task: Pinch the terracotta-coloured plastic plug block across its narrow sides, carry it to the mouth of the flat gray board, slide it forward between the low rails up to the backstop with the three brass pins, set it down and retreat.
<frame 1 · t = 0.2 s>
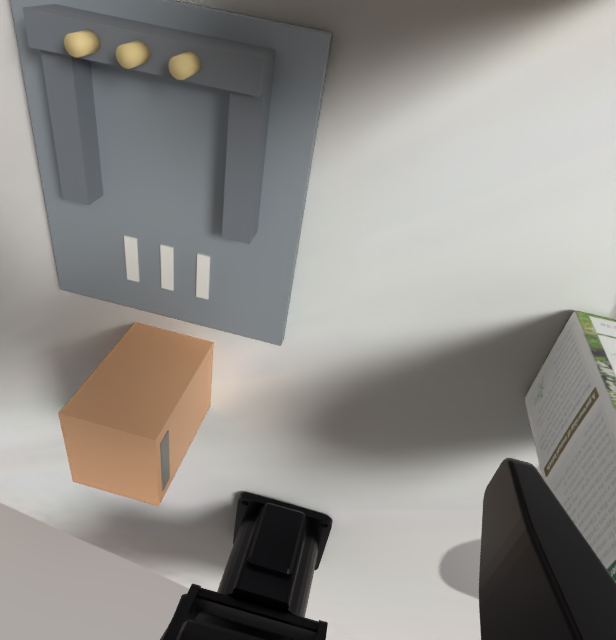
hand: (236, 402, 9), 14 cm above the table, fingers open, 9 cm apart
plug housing: (174, 365, 29), on the table
syrup box: (606, 366, 23), on the table
flat gray board: (172, 184, 22), on the table
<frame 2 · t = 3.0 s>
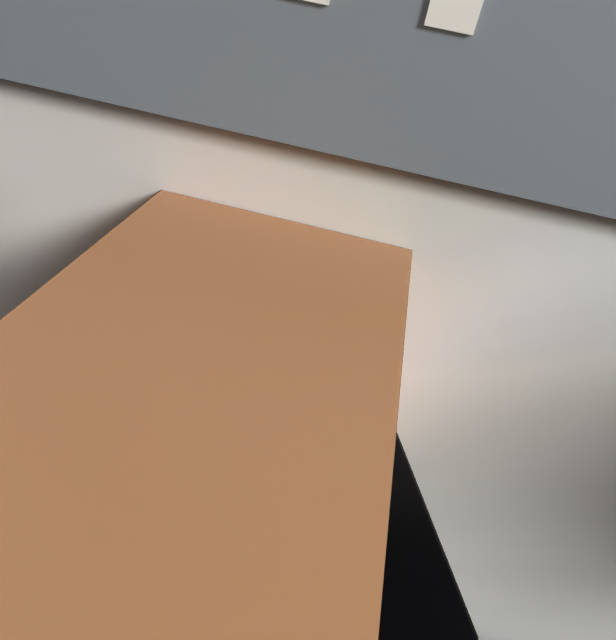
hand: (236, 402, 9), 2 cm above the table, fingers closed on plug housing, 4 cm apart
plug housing: (268, 332, 10), on the table, touching gripper
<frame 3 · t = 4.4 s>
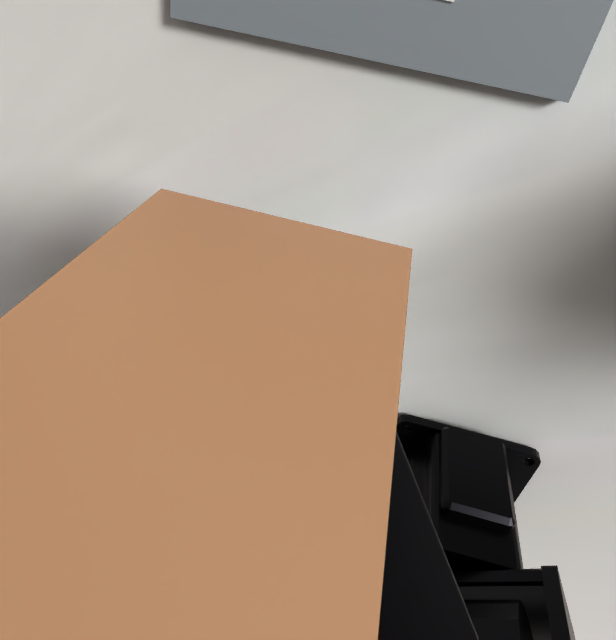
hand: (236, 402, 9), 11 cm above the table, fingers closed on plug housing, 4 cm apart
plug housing: (268, 331, 10), point 9 cm above the table, touching gripper
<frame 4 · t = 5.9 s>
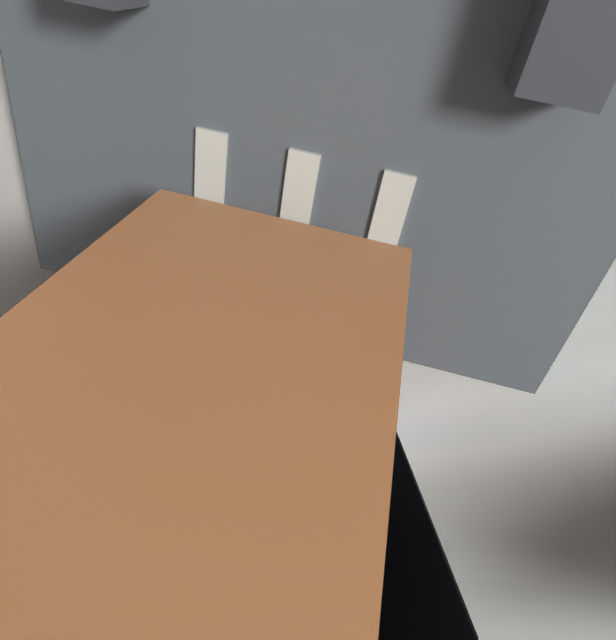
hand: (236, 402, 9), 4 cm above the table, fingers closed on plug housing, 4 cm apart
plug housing: (268, 331, 10), point 2 cm above the table, touching gripper
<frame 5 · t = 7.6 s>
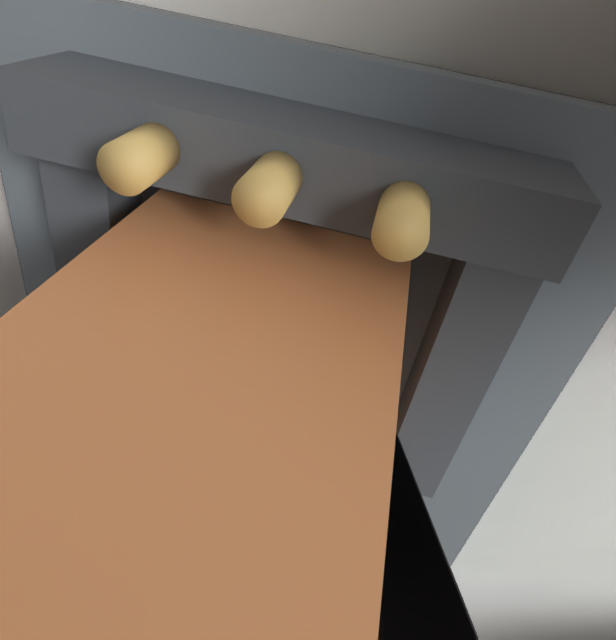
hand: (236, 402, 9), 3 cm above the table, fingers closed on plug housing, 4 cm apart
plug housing: (268, 331, 10), point 1 cm above the table, touching gripper
flat gray board: (275, 364, 12), on the table
when the fingers open (3 cm above the table, at t = 9.0 s): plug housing stays where it is, resting on flat gray board.
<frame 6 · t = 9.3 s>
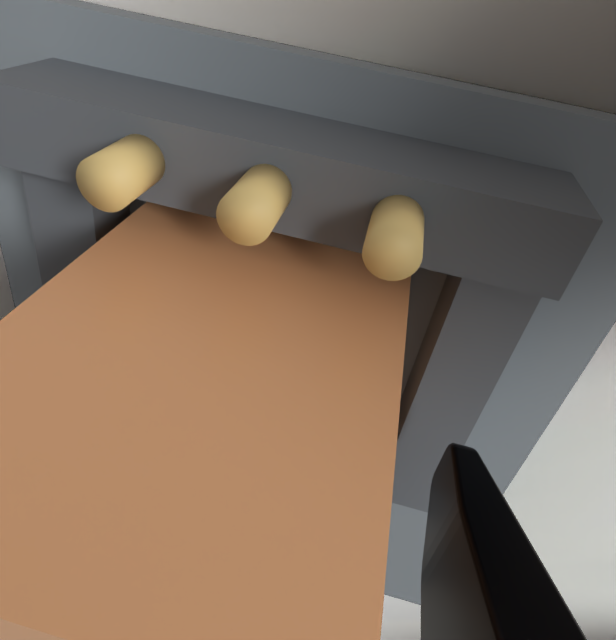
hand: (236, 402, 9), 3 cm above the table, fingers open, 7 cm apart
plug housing: (272, 324, 10), point 1 cm above the table, touching flat gray board
flat gray board: (268, 375, 12), on the table
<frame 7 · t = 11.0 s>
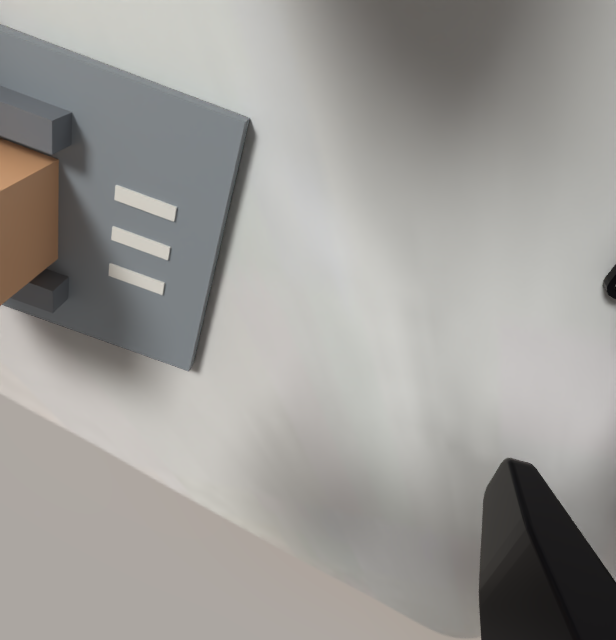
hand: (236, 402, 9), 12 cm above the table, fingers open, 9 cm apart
flat gray board: (54, 202, 21), on the table
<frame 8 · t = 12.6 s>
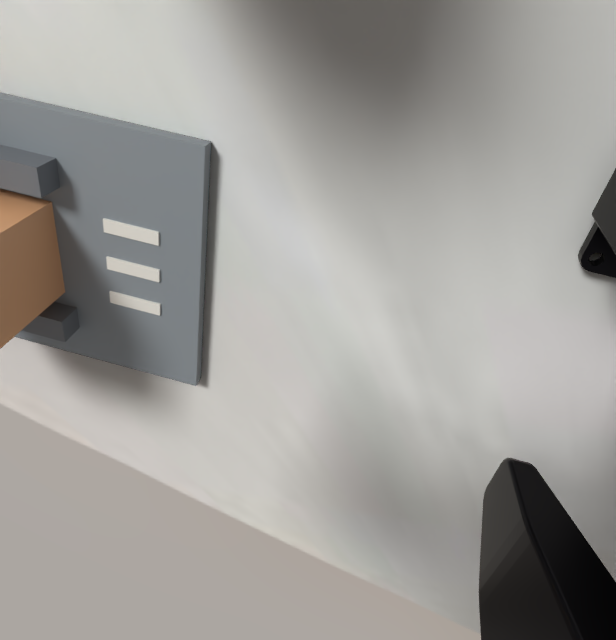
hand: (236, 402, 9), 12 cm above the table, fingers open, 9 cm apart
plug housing: (6, 236, 22), point 1 cm above the table, touching flat gray board
flat gray board: (56, 240, 23), on the table
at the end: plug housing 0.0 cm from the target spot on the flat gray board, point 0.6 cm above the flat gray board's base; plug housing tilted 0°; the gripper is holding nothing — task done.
